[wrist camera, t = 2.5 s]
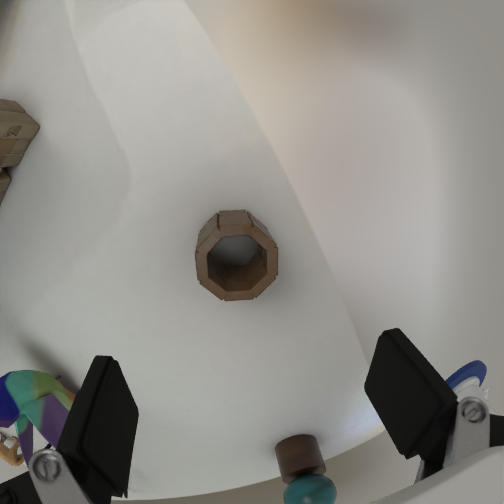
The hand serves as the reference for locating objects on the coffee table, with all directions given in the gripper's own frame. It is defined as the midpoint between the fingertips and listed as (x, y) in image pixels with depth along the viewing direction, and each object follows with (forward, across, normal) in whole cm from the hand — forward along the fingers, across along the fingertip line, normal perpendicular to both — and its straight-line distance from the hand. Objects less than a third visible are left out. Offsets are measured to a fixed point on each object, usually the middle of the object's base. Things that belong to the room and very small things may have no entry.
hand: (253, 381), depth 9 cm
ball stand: (+15, -8, +33) cm, 37 cm away
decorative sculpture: (+16, +23, +15) cm, 32 cm away
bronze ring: (+15, 0, 0) cm, 15 cm away
